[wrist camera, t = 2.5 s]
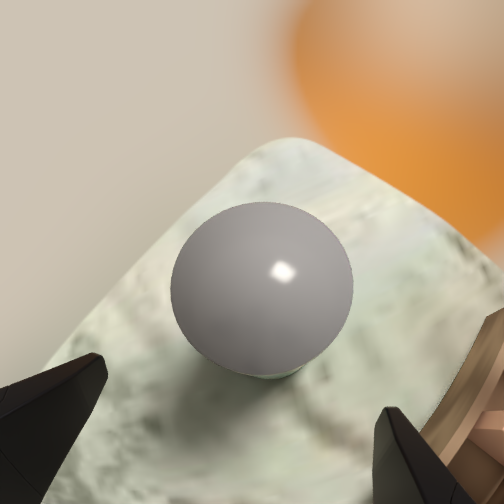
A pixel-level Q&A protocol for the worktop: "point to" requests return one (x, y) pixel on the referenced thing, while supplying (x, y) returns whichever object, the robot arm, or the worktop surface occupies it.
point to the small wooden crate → (472, 415)
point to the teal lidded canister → (262, 289)
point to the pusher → (490, 434)
